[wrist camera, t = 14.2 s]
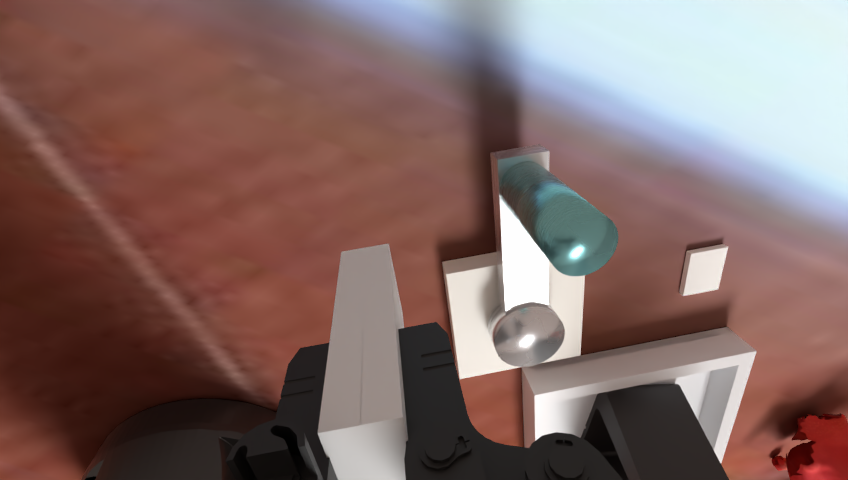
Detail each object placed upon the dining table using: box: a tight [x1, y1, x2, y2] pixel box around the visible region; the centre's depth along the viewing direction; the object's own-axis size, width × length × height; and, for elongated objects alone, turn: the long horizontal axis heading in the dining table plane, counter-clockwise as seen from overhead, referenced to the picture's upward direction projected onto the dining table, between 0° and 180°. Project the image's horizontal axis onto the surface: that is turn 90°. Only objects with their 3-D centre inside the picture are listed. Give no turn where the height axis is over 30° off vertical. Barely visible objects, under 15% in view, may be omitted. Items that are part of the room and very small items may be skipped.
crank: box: [488, 144, 618, 367], centre depth 19 cm, size 12×4×7 cm, turn 8°
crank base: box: [442, 244, 728, 379], centre depth 26 cm, size 18×8×1 cm, turn 98°
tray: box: [522, 327, 756, 463], centre depth 31 cm, size 15×15×2 cm
